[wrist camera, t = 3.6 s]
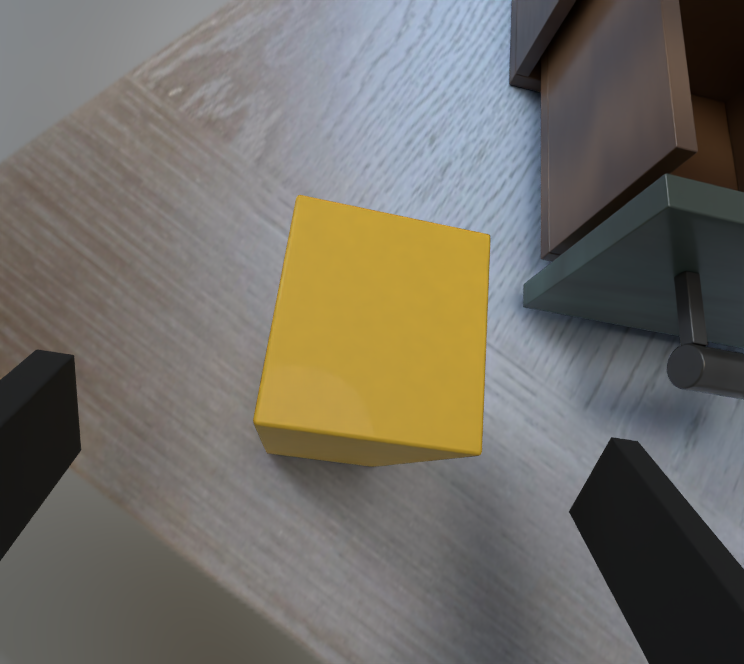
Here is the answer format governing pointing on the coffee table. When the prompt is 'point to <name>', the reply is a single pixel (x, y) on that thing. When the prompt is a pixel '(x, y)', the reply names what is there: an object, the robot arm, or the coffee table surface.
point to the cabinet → (533, 37)
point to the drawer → (648, 178)
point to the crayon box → (376, 339)
